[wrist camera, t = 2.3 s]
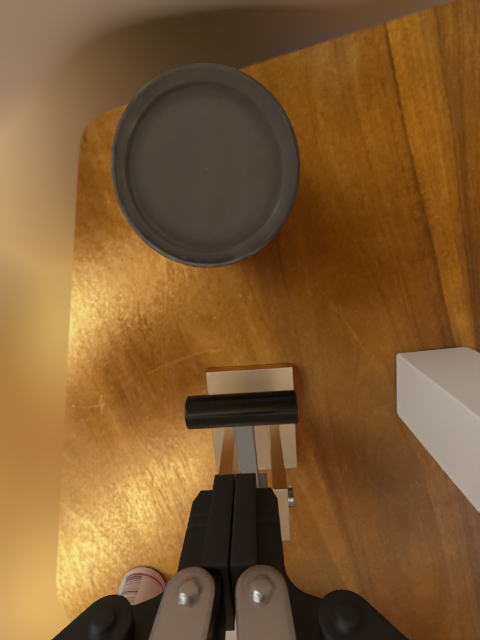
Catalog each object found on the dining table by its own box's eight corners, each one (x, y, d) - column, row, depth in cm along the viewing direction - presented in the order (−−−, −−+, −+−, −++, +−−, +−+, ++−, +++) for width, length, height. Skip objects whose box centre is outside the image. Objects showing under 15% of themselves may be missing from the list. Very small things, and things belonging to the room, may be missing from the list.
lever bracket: (207, 368, 36) (180, 445, 22) (291, 362, 35) (315, 438, 22) (217, 464, 39) (199, 585, 25) (295, 461, 38) (319, 582, 25)
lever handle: (187, 385, 19) (182, 421, 17) (293, 378, 19) (299, 415, 17) (217, 491, 27) (215, 524, 25) (291, 488, 27) (295, 521, 25)
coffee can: (159, 154, 31) (85, 86, 17) (269, 130, 30) (284, 39, 16) (184, 264, 33) (137, 282, 20) (287, 245, 32) (312, 249, 19)
